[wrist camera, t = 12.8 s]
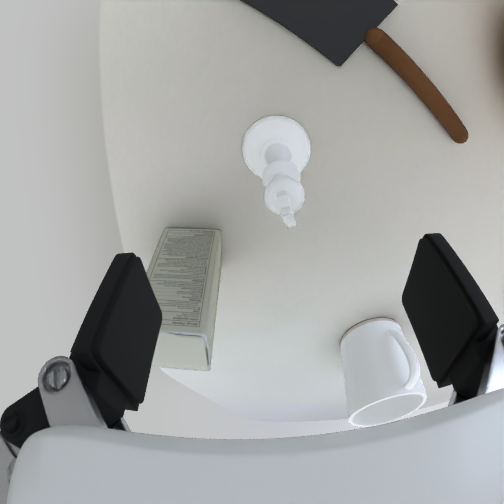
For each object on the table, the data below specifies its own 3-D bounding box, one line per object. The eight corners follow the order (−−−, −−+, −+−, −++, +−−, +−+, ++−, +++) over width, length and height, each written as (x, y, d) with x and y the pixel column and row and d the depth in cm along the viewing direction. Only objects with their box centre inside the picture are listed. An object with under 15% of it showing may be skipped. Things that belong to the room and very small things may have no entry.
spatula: (227, -7, 14) (224, -12, 12) (289, -69, 10) (291, -77, 9) (434, 164, 20) (443, 172, 19) (480, 111, 17) (491, 116, 16)
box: (169, 264, 27) (137, 365, 19) (163, 226, 25) (120, 328, 16) (224, 268, 28) (210, 374, 19) (224, 228, 25) (206, 337, 16)
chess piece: (255, 186, 23) (253, 274, 15) (232, 128, 20) (211, 187, 12) (317, 168, 21) (352, 247, 13) (299, 107, 19) (330, 150, 11)
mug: (383, 357, 37) (399, 422, 29) (326, 356, 36) (335, 428, 28) (423, 304, 30) (454, 377, 22) (359, 298, 30) (382, 384, 22)
